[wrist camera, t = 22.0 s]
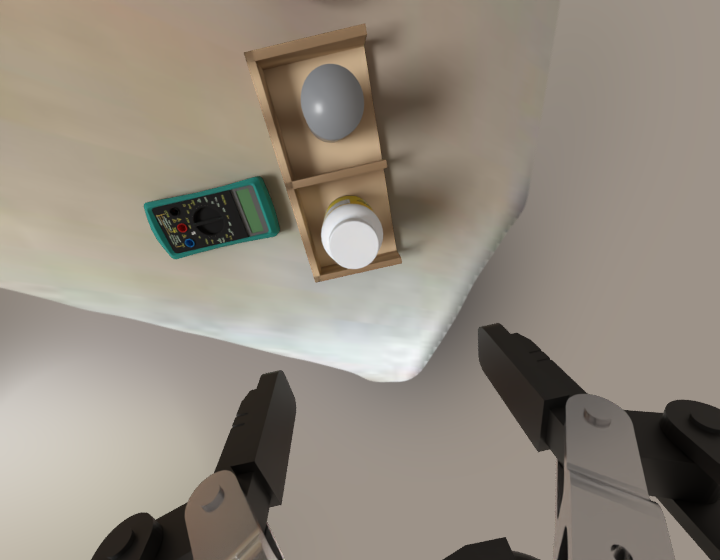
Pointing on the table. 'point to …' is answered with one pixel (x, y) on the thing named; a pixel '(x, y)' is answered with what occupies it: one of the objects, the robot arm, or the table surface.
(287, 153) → the divided wooden tray
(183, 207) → the digital multimeter
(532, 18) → the table surface
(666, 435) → the robot arm
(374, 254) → the pill bottle
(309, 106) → the grey cylinder
